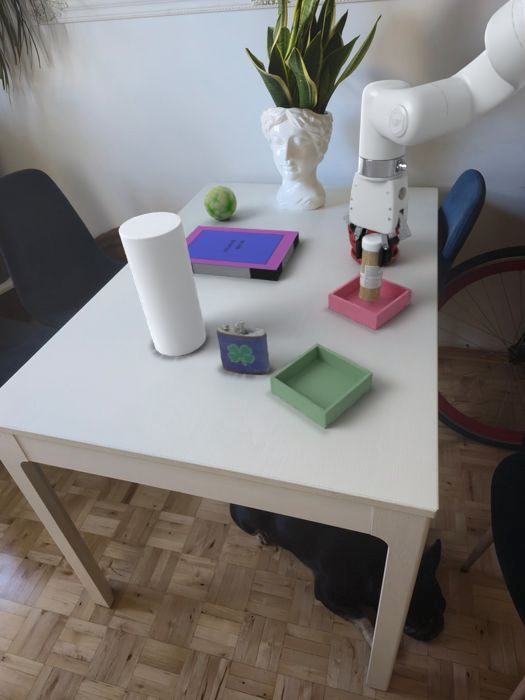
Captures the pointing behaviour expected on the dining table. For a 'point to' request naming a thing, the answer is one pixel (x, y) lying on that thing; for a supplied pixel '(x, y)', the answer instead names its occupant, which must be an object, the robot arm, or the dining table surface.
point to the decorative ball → (220, 202)
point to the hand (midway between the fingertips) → (372, 259)
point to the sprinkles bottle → (370, 268)
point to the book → (241, 251)
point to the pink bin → (369, 312)
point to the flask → (243, 349)
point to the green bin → (321, 384)
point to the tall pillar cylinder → (164, 281)
